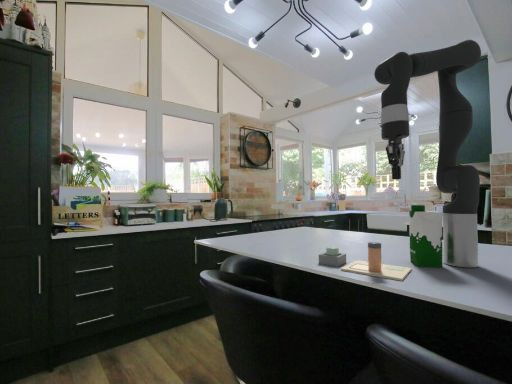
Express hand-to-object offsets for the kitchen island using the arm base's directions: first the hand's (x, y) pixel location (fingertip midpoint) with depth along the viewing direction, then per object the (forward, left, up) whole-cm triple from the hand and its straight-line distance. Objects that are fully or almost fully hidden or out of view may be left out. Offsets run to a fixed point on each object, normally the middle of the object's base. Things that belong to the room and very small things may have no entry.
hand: (396, 179), depth 81 cm
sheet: (+1, -6, -28) cm, 29 cm away
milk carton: (-17, +5, -28) cm, 33 cm away
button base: (+1, -20, -28) cm, 35 cm away
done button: (+1, -20, -27) cm, 34 cm away
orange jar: (+4, -5, -28) cm, 28 cm away
